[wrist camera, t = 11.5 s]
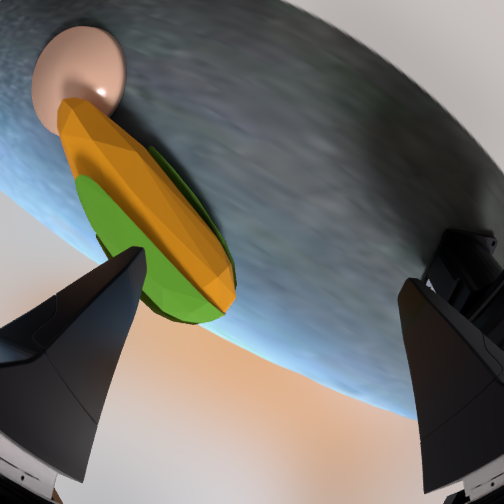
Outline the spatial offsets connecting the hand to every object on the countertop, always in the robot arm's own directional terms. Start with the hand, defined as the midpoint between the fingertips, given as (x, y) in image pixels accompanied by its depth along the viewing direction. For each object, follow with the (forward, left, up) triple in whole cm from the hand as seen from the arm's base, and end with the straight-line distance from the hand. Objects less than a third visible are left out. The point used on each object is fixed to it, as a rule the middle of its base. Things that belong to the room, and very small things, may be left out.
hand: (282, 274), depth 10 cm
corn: (+10, +3, -13) cm, 16 cm away
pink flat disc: (+16, -7, -12) cm, 21 cm away
